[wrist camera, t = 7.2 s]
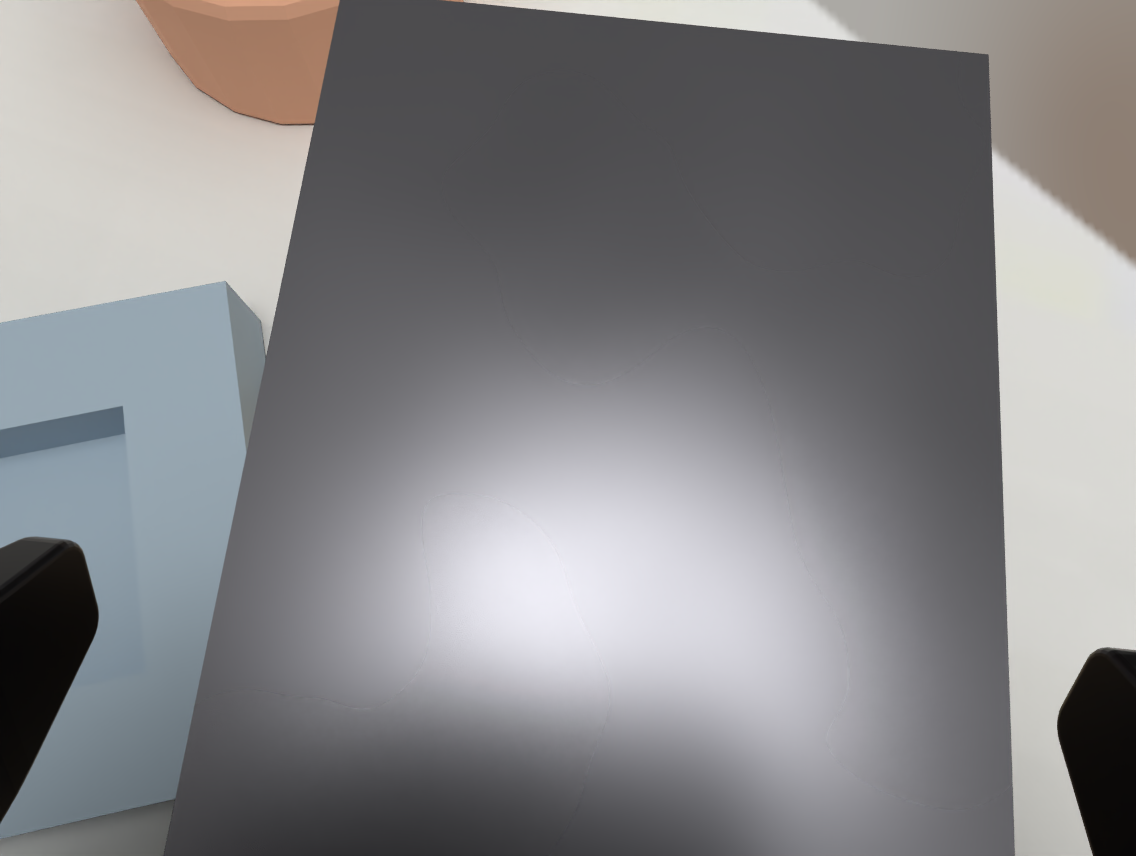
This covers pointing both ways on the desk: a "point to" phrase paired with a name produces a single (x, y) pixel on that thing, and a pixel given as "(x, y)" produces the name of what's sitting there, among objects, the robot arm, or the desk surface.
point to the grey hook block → (620, 457)
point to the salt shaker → (251, 51)
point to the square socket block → (128, 521)
